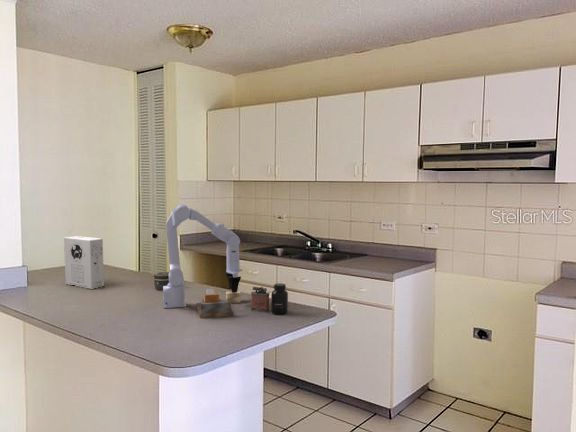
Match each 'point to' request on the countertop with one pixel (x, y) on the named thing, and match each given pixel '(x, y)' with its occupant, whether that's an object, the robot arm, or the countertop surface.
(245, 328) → the countertop surface
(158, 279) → the jar
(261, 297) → the lighter
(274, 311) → the supplement bottle
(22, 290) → the countertop surface
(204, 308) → the press bed
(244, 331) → the countertop surface
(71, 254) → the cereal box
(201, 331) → the countertop surface
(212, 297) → the block
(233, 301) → the block
